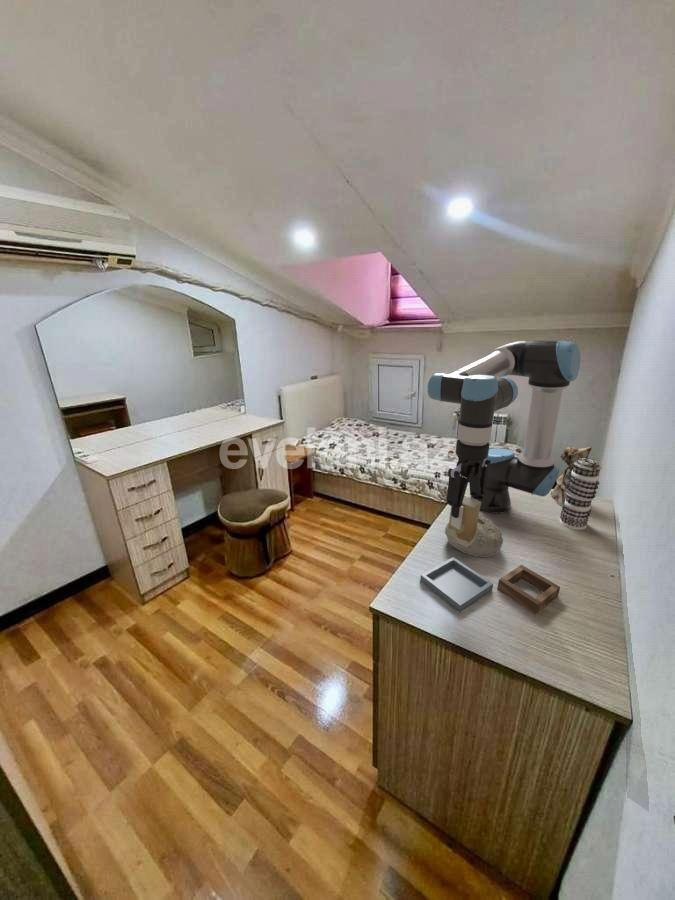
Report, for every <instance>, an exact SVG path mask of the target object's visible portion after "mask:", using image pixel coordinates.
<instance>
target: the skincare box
mask: <svg viewBox="0 0 675 900" xmlns="http://www.w3.org/2000/svg"><path fill="white" fill-rule="evenodd" d="M461 506H463V507H464V508H463V516H462V524H461V529H457V528H455V527H454V526H452V525H451V517H452V516H451V511H452V506H450V513H449V521H448V523H449V526H448V534H447V536H446V538H448V539H450V540H452V541H455V542H457V543H459V544H461V545H464V546H466V547H469V546H470V545H471V544H472V543H473V542H474V541H475V535H476V529H477V523H478V517H479V516H480V511H481V510H480V506H481V501H478V500H475V499H472V498H470V497H469V496H465V495H464V498H463V502H462V505H461ZM448 539H447V540H448Z"/></svg>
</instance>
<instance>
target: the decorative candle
mask: <svg viewBox="0 0 675 900" xmlns="http://www.w3.org/2000/svg"><path fill="white" fill-rule="evenodd" d="M602 468H603V466H602V465H601V464H600V462H599V461H597V460H596V459H592V458H590V457H588V458H580V459H578V460H577V461H574V467H573V470H572V471H571V472H569V476H568V479H569V480H568V483H567V487H566V488H568V489H566V494H567V497H566V499H565V503H563V506H561V511H560V516H559V522H560V524H561V525H563V526H564V527H566V528H569V529H572V530H577V531H578V530H579V531H582V530H585V529H586V528H587V525H588V523H589V522H590V521H589V517H590V514H591V511H592V509H591V506H592V500H593V501H594V499H595V498H596V494H597V491H596V490H598V489H599V486H598V485H600V482H599V477H600V471H601V469H602ZM570 477H571V478H570Z"/></svg>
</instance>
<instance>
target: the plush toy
mask: <svg viewBox="0 0 675 900" xmlns="http://www.w3.org/2000/svg"><path fill="white" fill-rule="evenodd" d="M591 451H592V446H588V447H584V448H577V447H575V446H572V445H571V446H570V447H569V446H566V447H565V449H564V450H563V453H561V455H560V458H561V461H564V463H565V464H566V465H567V467H566V468H565V470H564V472H562V474H561V475H560V476H559V477H557V479H556V481H555V483H556V485H555V487H554V488H553V490H554V491H553V490H552V491H550V496H551V498H553V500H554V501H555V503H556V504H557V505H558V506H559V507H563V503H565V499H566V497H567V494H566V489H568V488H566V487H567V483H568V480H569V479H568V476H569V472H571V471H572V470H573V467H574V461H577V460H578V459H580V458H589V455H590V453H591ZM570 478H571V477H570Z"/></svg>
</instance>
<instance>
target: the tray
mask: <svg viewBox="0 0 675 900" xmlns="http://www.w3.org/2000/svg"><path fill="white" fill-rule="evenodd" d="M419 580H420V583H422V585H424V586H425V587H427V588H428V589H429V590H430V591H431V592H433V593H434V594H435V595H437V597H439V598H441V600H442V601H444V602H445V603H446V604H448V605H449V606H451V607H452V608H453V609H454V610H455V611H456V612H458V613H461V612H463V611H464V610H466V609H467V608H469V607H470V606H471V605H474V604H475V603H476V602H478V601H479V600H480V599H482V598H483V597H485V596H487V595H488V594H489V593H491V592H492V591H493V589H494V582H492V581H491V580H490V579H488V578H486V577H484V576H483V575H481V574H480V573H478V572H477V571H475V570H473V569H472V568H470V567H469V566H468V565H466V564H464V563H463V562H461V561H460V560H458V559H457V558H456V557H454V556H452V557H451V558H449V559H446V560H445V561H443V562H441V563H440V564H438V565H436V566H434V567H433V568H431V569H429V570H427V571H424V572H423V573H421V574H420V579H419Z"/></svg>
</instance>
